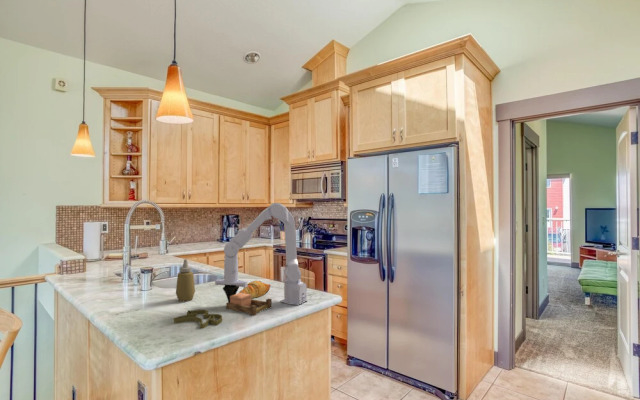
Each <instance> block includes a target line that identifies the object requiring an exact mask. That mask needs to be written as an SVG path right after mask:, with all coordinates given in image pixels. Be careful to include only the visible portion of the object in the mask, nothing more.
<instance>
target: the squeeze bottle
mask: <svg viewBox="0 0 640 400" xmlns="http://www.w3.org/2000/svg"><path fill="white" fill-rule="evenodd" d="M176 278H177V280H176V287H175V290H176V291H175V295H176V298H177V301H178V302H190V301H192V300H193V298H194V295H195V293H196V289H195V277H194V272H193V271H192V267H191V266H189V262H188V258H187V259H183V263H182V267H180V268H179V272H178V273H177V277H176Z"/></svg>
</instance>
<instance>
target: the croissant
mask: <svg viewBox="0 0 640 400" xmlns="http://www.w3.org/2000/svg"><path fill="white" fill-rule="evenodd" d="M242 288H243V289H241V290H240V291H239V292H238V293H245V294H251V299H256V298H259V297H262V296H265V294H266V293H267V292H269V290H270V289H271V284H270V283H269V284H268V283H264V282H262V281H261V280H253V281H250V282H248V286H247V287H242Z"/></svg>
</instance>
